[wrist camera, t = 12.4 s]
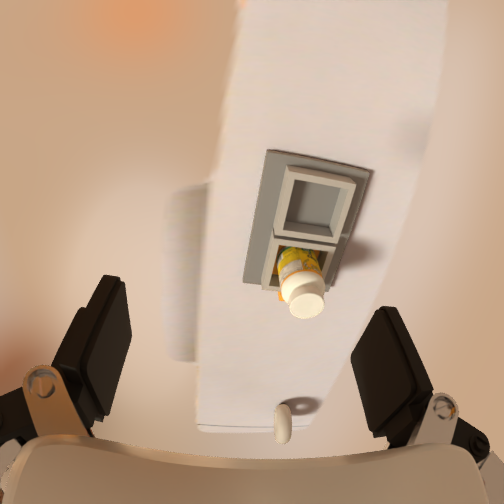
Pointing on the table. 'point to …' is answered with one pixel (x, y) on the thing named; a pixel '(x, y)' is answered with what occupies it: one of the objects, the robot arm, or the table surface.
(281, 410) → the donut
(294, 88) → the table surface
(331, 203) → the compartment tray
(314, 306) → the supplement bottle
